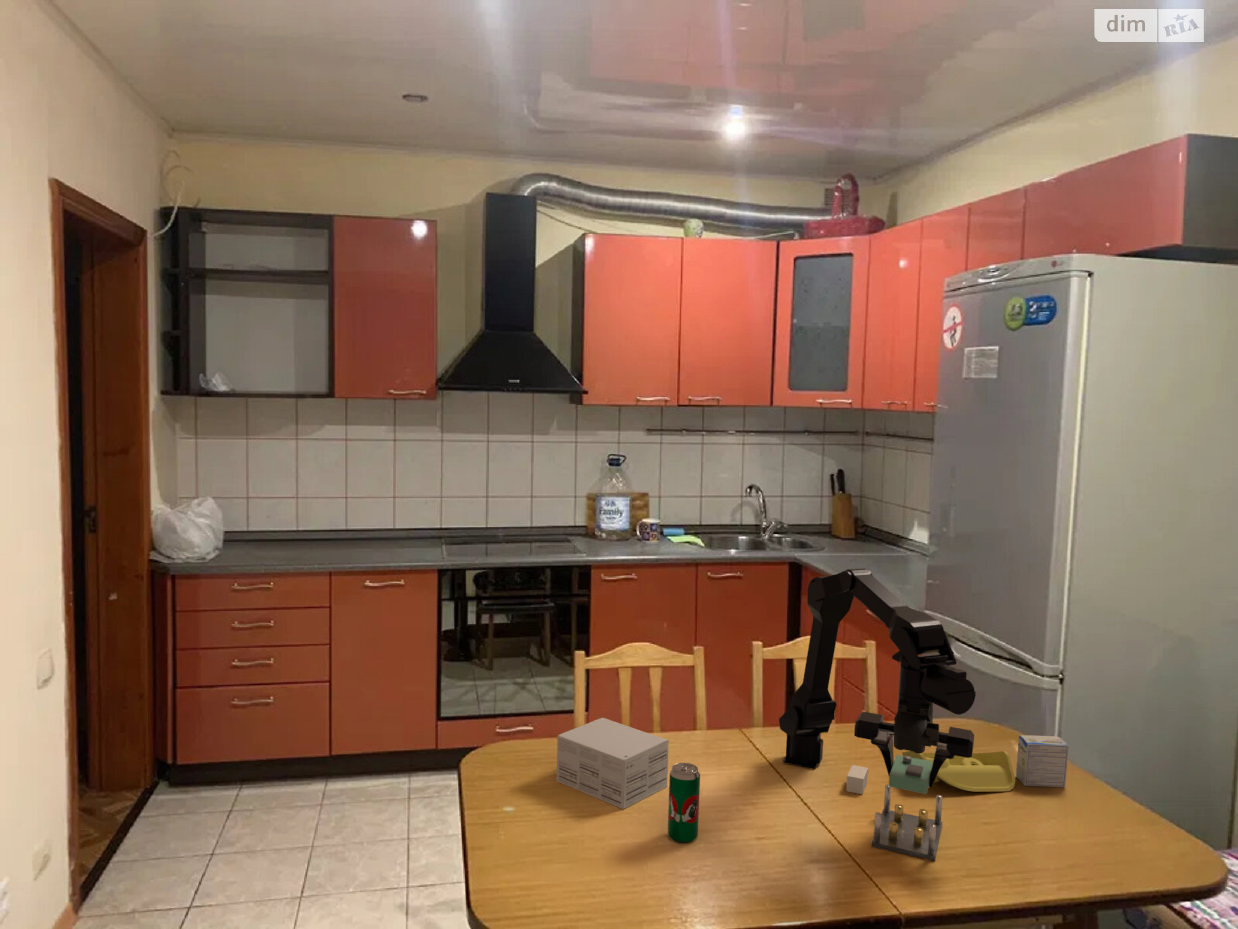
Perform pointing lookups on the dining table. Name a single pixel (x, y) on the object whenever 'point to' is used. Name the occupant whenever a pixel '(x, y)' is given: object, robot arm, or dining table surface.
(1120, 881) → the dining table surface
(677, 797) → the soda can
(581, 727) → the supplement box
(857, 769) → the white rectangular block
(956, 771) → the plastic component
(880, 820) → the chassis
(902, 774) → the board
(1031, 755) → the medicine box
